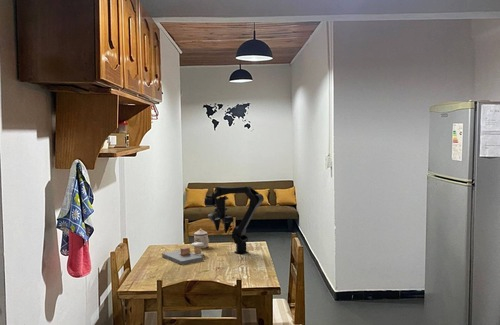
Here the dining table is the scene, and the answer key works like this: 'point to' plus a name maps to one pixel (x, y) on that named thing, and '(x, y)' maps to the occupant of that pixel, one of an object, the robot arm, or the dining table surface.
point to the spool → (198, 248)
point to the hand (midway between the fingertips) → (221, 231)
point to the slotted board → (182, 257)
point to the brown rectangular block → (185, 251)
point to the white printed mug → (201, 238)
